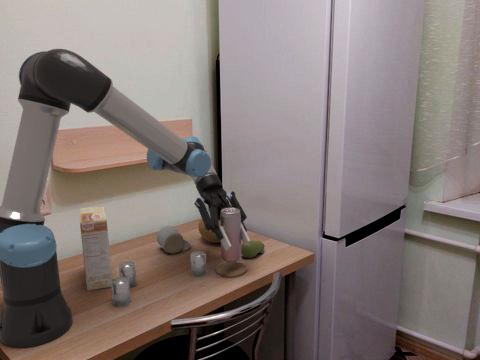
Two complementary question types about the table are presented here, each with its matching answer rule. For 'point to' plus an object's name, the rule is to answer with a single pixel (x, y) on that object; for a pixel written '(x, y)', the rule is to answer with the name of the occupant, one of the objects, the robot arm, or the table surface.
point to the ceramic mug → (171, 240)
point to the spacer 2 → (198, 263)
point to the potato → (207, 233)
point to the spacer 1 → (120, 291)
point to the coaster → (231, 269)
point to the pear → (252, 249)
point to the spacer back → (128, 272)
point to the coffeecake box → (95, 247)
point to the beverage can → (231, 234)
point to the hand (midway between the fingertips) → (238, 245)
